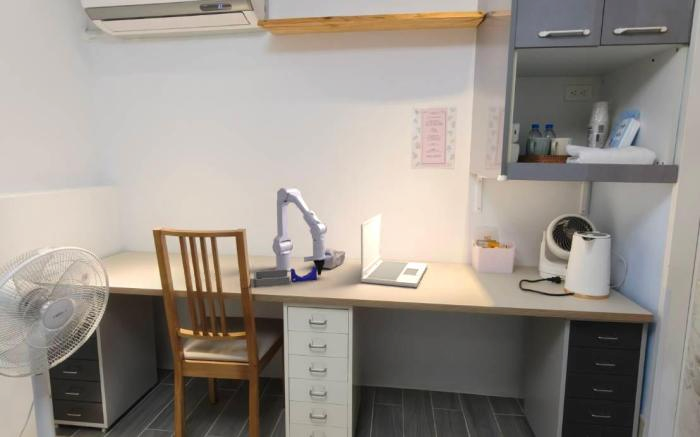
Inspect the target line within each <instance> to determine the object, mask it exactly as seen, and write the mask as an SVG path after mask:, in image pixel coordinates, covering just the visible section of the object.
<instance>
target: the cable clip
mask: <svg viewBox="0 0 700 437" xmlns="http://www.w3.org/2000/svg"><path fill="white" fill-rule="evenodd" d="M290 281H292V282H293V283H302V282H311V281H312V282H313V281H318V272H317V268H316V266H312V267H311V271H310V272H308V273H307V274H305V275H302V276H300V275H298V274H297V273H296V270H295V268H291V271H290ZM292 282H291V283H292Z"/></svg>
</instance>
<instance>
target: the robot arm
mask: <svg viewBox="0 0 700 437" xmlns="http://www.w3.org/2000/svg"><path fill="white" fill-rule="evenodd" d="M276 194H277V195H276V197H277V198H276V222H277V223H276V225H277V230H276V231H277V235H276V236H275V237H274V238H273V242H272V251H273V253H274V254H275V262H276V264H275V265H276V266H274V268H275V270H282V269H287V272H291V269H292V267H291V252H292V250H293V249H294V244H293V241H292V240H293V238H292V237H291V236H290V235H289V219H288V218H289V214H288V208H289V204H291V203H293V204H294V205H295V206H296V208H298V210H299V211H300V212H301V213H302V215H303V216H302V219H303V220H304V221H305V223H306V224H307V225H308V227H309V233H310V234H311V239H312V255H310V256H304V257H303V262H304V263H306V262H313V263H314V267H316V268H317V277H318V276H322V270H323V266H324V264H325V261H324V260H334V256H333V255H325V249H326V246H325V244H326V243H325V234H326V233H327V230H328V229H327V228H328V227H327V225H326V223H325V222H322V221H321V220H320V219H319V218H318V216H317V215H316V213H315V212H314V211H313V210H310V208H309V207H308V206H307V204H306V203H305V201H304V199H303V197H302V193H301V191H300V190H299V188H298V187H297V186H292V187H281V188H280V189H279V190H278V191H276Z"/></svg>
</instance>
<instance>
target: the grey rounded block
mask: <svg viewBox="0 0 700 437" xmlns="http://www.w3.org/2000/svg"><path fill="white" fill-rule="evenodd" d="M325 255H333V256H334V260H324V261H325V264H324V266H323V268H324V269H328V270H329V269H330V270H331V269H334V268H336V267H339V266H341V265H342V264H343V263H344V261H345V258H346V251H344V250H335V248H325ZM323 268H322V269H323Z"/></svg>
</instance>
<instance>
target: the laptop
mask: <svg viewBox="0 0 700 437" xmlns="http://www.w3.org/2000/svg"><path fill="white" fill-rule="evenodd" d="M381 239H382V213H379V214H378V215H376V216H373V218H370V219H369V220H367V221H365V222H363V223H361V224H360V282H361V283H364V284H375V285H376V284H377V285H386V286H387V285H388V286H395V287H396V286H397V287H405V288H406V287H407V288H417V286H418V284H419V283H420V281H421V279H422V277H423V275H424V273H425V272H426V270H427V268H428V263H419V262H410V261H398V260H397V261H395V260H394V261H393V260H385V259H384V260H382V240H381Z"/></svg>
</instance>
